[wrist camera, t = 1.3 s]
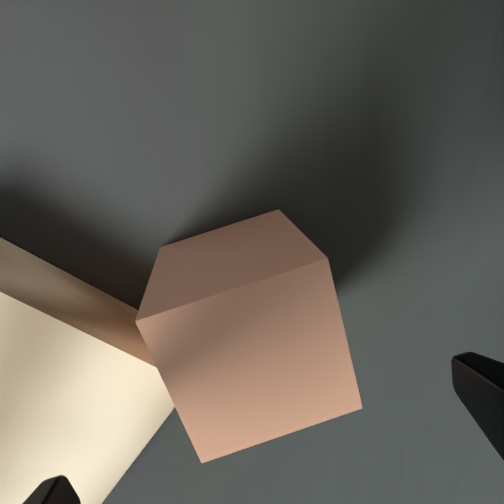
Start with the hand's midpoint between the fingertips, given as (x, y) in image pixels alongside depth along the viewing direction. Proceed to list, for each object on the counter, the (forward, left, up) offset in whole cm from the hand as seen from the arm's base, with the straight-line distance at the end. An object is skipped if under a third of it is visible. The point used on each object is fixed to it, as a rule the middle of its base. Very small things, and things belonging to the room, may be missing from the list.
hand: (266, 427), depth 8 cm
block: (0, 0, -8) cm, 8 cm away
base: (+5, +8, -8) cm, 12 cm away
